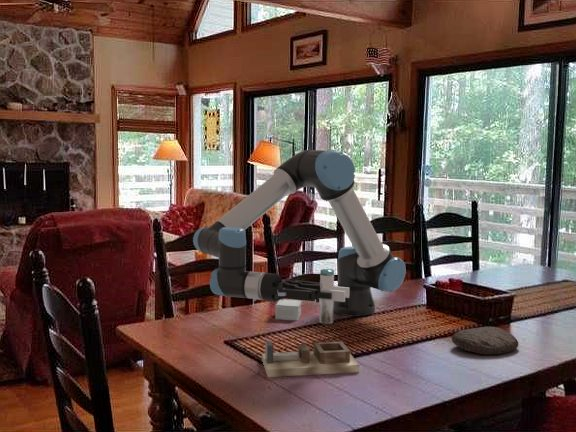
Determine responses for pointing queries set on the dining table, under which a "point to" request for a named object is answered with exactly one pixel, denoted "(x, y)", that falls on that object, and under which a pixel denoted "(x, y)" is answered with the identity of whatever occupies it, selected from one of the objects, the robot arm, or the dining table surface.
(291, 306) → the small box
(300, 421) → the dining table surface
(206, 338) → the dining table surface
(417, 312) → the dining table surface
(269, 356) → the lock pin
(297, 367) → the dock
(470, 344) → the decorative stone
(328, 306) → the silver cylinder
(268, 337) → the dining table surface
